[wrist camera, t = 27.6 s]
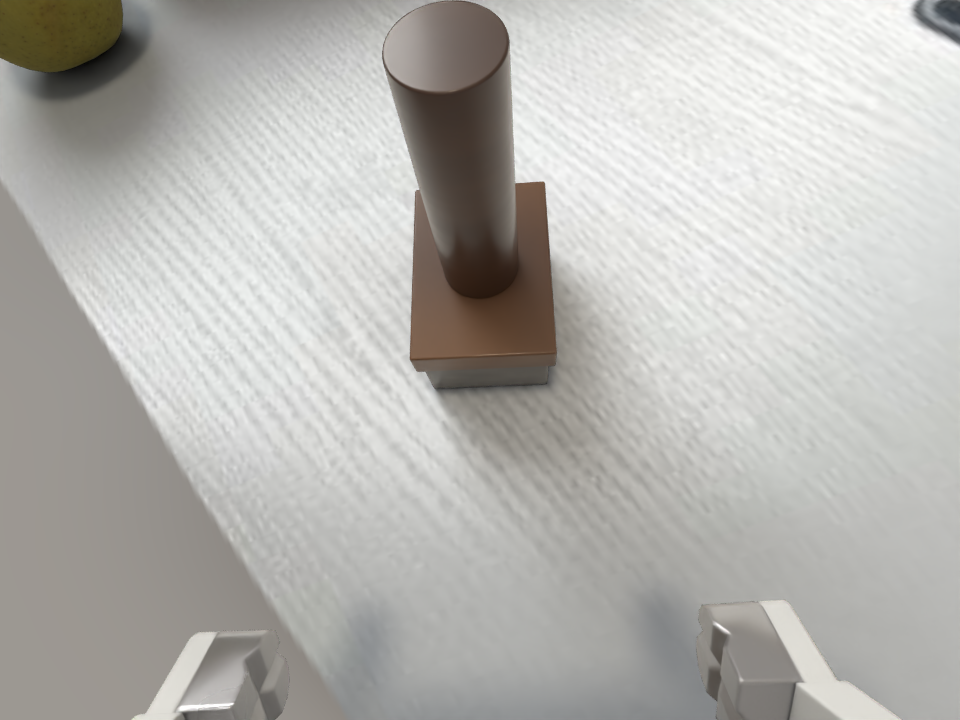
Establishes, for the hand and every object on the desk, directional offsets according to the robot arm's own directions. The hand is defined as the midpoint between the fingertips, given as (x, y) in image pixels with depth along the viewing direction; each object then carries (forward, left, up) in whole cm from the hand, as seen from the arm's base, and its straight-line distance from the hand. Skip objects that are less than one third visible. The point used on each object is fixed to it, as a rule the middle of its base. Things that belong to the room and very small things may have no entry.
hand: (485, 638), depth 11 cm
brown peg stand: (+10, -6, -8) cm, 14 cm away
